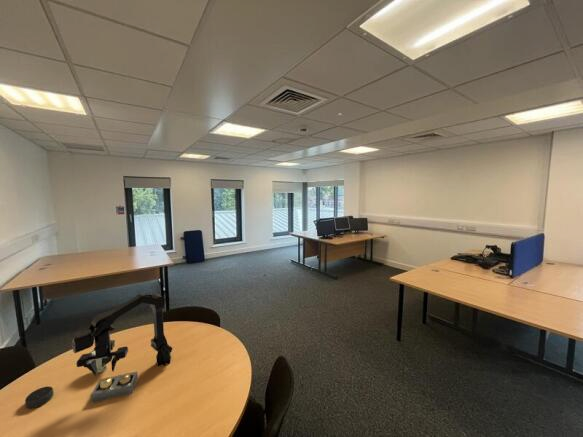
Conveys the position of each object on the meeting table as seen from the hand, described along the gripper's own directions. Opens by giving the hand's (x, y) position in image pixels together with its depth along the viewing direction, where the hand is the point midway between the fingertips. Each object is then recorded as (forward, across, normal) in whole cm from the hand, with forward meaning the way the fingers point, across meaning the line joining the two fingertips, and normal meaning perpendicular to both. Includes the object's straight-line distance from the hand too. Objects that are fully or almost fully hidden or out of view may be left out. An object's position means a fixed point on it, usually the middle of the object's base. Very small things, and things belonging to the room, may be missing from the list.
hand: (104, 372), depth 114 cm
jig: (+10, -4, 0) cm, 11 cm away
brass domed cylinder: (+10, 0, 0) cm, 10 cm away
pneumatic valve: (+10, +8, -19) cm, 23 cm away
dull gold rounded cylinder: (+10, -8, 0) cm, 13 cm away
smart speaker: (+10, +27, -5) cm, 29 cm away
